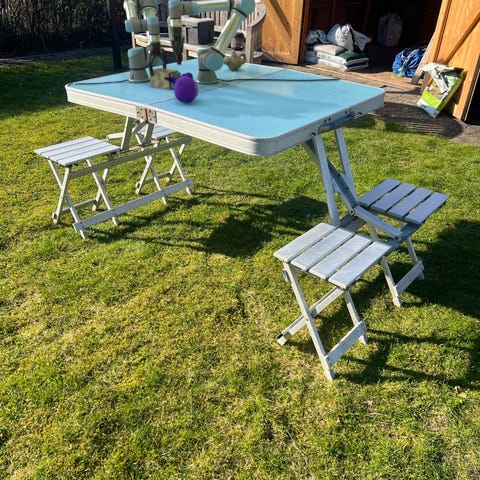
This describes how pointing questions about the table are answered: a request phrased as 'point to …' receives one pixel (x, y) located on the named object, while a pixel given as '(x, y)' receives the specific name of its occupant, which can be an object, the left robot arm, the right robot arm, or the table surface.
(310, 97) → the table surface
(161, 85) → the tan cardboard box
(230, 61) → the teapot
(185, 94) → the toy
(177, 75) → the drawer
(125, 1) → the left robot arm
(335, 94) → the table surface
